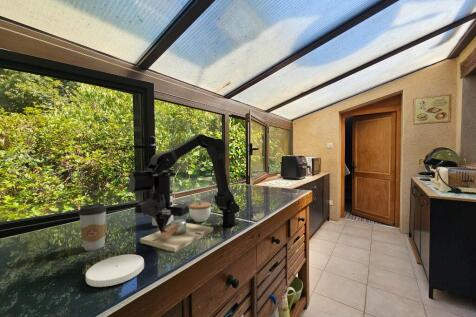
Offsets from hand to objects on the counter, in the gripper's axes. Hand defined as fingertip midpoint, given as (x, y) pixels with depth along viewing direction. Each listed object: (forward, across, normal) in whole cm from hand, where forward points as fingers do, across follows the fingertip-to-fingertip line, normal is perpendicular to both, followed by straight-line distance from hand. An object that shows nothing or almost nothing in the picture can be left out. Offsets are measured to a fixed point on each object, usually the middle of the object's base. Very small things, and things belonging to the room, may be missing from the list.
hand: (162, 232), depth 77 cm
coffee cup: (+6, -25, -5) cm, 26 cm away
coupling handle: (+3, +1, +6) cm, 6 cm away
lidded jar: (+5, 0, +32) cm, 32 cm away
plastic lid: (+6, -2, -18) cm, 19 cm away
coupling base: (+5, +1, +10) cm, 11 cm away
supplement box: (+6, -15, +23) cm, 28 cm away
